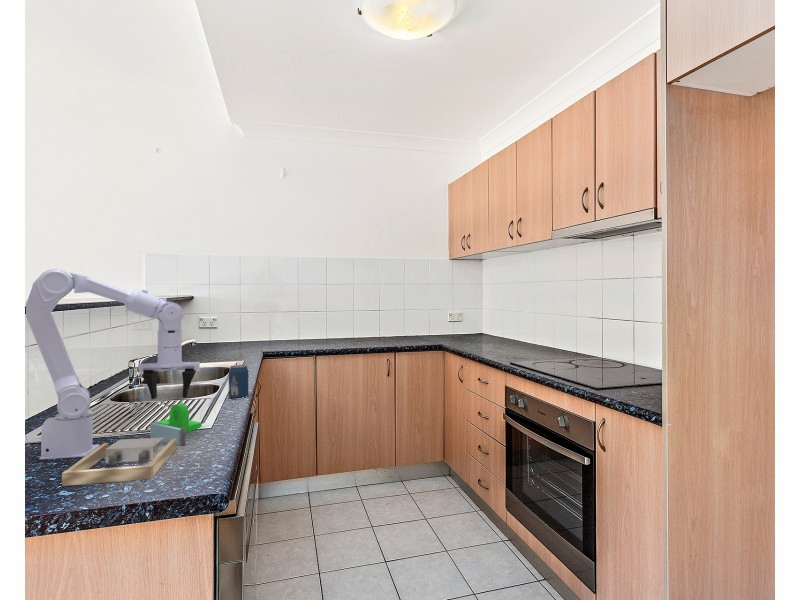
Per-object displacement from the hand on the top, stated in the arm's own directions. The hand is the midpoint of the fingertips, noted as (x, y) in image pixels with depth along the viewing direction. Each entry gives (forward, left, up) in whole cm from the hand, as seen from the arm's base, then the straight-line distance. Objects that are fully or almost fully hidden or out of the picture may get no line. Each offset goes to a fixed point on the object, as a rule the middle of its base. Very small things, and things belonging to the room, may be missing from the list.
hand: (169, 397), depth 119 cm
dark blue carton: (+12, +46, -11) cm, 48 cm away
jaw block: (-3, -15, -11) cm, 19 cm away
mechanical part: (0, +8, -11) cm, 13 cm away
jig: (-4, -20, -10) cm, 23 cm away
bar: (+5, -9, -10) cm, 15 cm away
